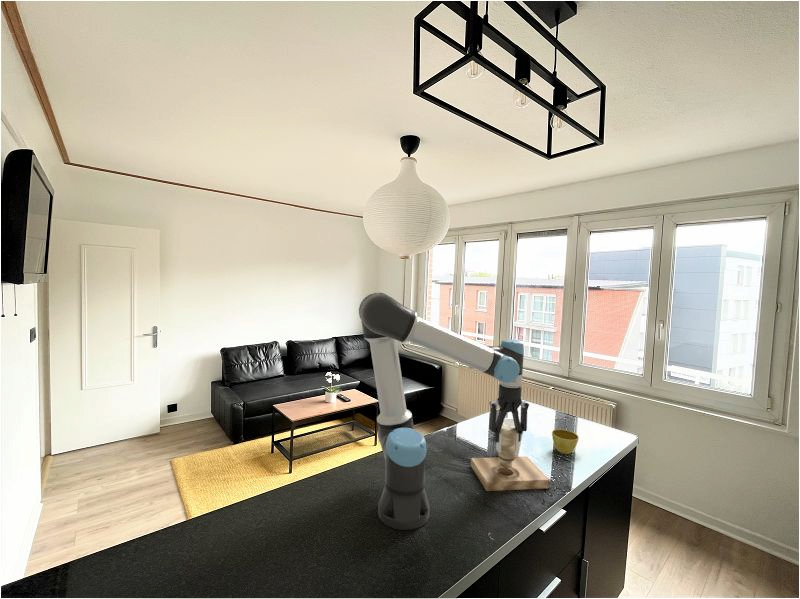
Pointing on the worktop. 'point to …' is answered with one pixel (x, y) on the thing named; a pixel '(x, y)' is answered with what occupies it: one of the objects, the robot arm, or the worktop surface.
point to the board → (509, 474)
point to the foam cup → (511, 423)
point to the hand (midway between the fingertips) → (506, 450)
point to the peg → (507, 446)
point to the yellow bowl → (564, 440)
